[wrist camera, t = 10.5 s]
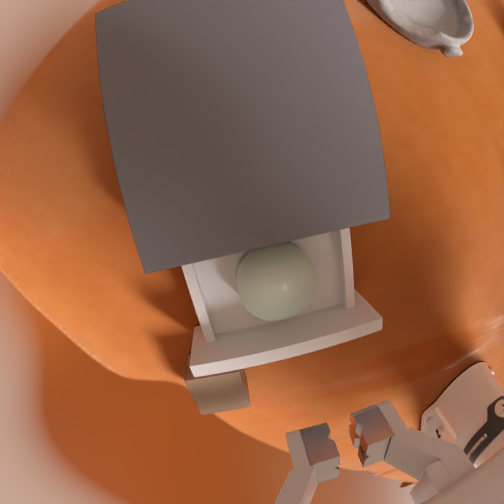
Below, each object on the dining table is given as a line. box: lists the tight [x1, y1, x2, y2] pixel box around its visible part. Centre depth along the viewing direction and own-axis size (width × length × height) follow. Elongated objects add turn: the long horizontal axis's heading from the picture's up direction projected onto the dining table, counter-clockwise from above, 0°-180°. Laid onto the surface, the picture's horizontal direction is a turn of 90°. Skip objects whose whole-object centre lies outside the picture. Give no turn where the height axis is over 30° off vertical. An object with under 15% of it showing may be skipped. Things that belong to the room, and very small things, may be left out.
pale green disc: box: [236, 241, 318, 321], centre depth 22 cm, size 6×6×2 cm
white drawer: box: [182, 228, 383, 377], centre depth 21 cm, size 18×16×6 cm
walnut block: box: [185, 354, 251, 415], centre depth 26 cm, size 5×5×4 cm
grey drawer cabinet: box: [95, 0, 390, 274], centre depth 17 cm, size 18×16×7 cm
